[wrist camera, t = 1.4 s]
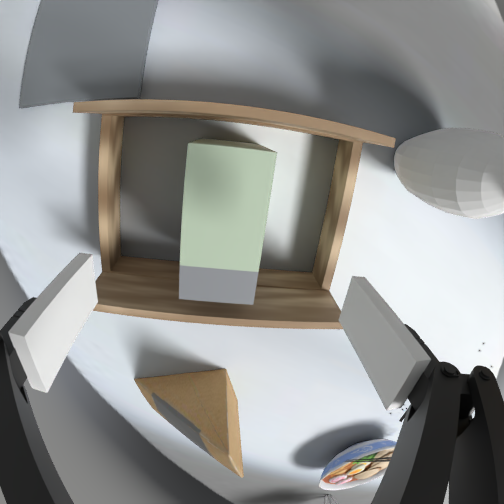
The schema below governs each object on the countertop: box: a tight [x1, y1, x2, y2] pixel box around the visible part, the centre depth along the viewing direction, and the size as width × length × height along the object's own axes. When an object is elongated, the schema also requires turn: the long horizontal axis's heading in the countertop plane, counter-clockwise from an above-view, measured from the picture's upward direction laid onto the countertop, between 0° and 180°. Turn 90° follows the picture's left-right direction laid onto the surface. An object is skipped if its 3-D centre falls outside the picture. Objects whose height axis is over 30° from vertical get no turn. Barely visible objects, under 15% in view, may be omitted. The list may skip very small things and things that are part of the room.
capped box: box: [179, 138, 277, 305], centre depth 26 cm, size 12×6×11 cm, turn 172°
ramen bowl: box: [319, 439, 397, 490], centre depth 54 cm, size 25×23×8 cm
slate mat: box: [19, 0, 158, 108], centre depth 22 cm, size 16×16×1 cm
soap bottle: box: [394, 128, 504, 219], centre depth 19 cm, size 14×9×26 cm, turn 107°
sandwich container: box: [134, 369, 244, 477], centre depth 36 cm, size 9×15×15 cm, turn 100°
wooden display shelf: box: [73, 99, 396, 329], centre depth 27 cm, size 18×25×10 cm
